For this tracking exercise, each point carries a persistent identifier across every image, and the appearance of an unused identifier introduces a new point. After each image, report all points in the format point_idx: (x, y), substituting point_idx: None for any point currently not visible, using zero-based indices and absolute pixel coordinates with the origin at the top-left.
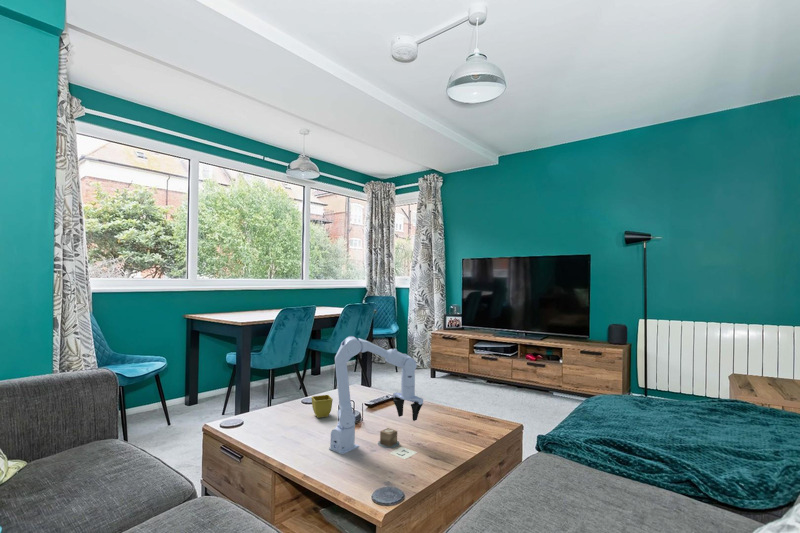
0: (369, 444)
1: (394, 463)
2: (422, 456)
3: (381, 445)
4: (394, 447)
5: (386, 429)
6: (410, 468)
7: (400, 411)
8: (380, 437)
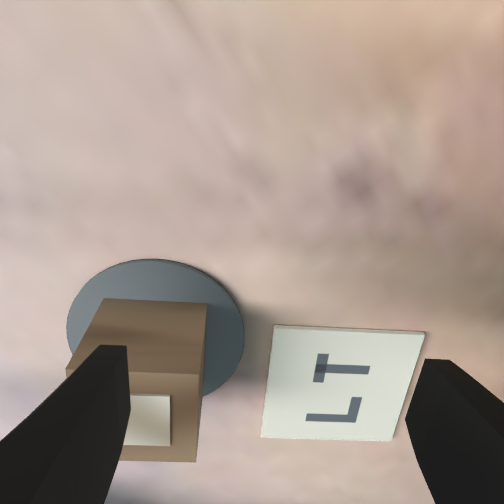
0: None
1: (354, 485)
2: (472, 349)
3: None
4: (237, 364)
5: None
6: None
7: (101, 468)
8: None
